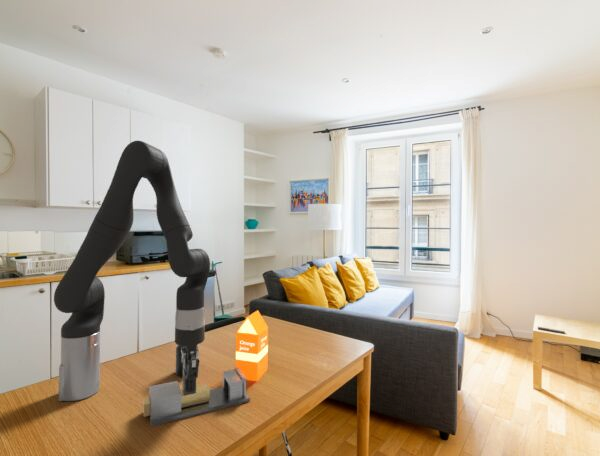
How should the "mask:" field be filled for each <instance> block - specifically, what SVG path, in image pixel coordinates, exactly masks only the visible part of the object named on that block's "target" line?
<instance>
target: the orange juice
mask: <svg viewBox="0 0 600 456" xmlns="http://www.w3.org/2000/svg"><path fill="white" fill-rule="evenodd" d="M268 352H269V326H268V325H267V323H266V322H265V320H264V318H263V317H262V314H261V313H260V311H259V310H256V311H254V312H252V313H251V314H250V315H248V316H247V317H246V318H245V319H244V321H243V322H242V324H241V325H240V327H239V328H238V329H237V331H236V334H235V367H238V368H239V369H240V370H241V372H242V373H243V374H244V376H245V377H246V381H250V382H251V381H253V382H258V381H259V380H260V379H261V378H262V376H264V374H265V373H266V371H268V365H269V364H268V363H269V362H268V358H269V357H268V355H269V354H268Z"/></svg>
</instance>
